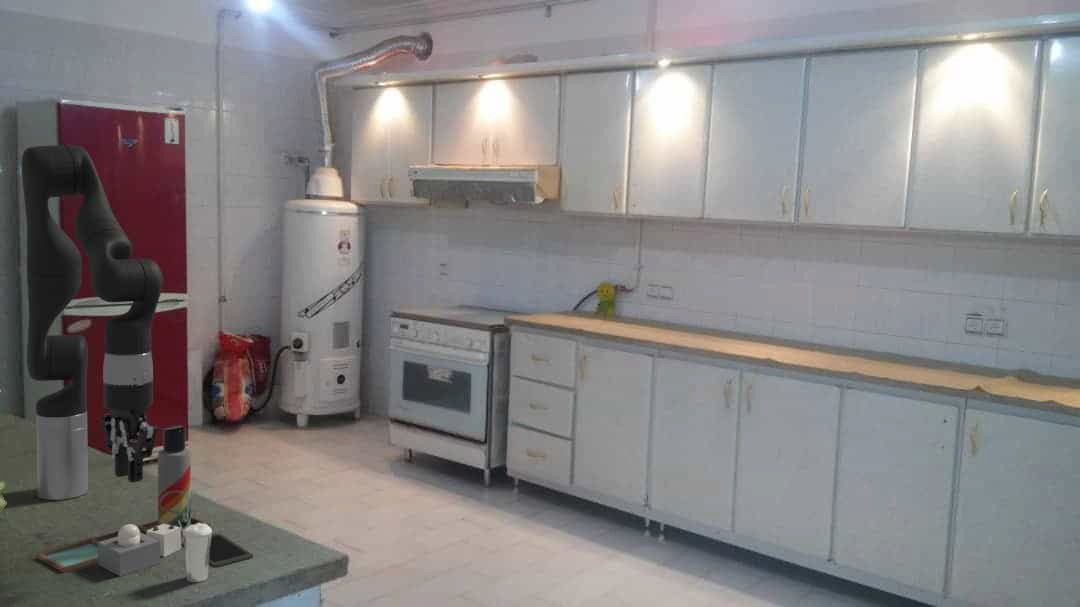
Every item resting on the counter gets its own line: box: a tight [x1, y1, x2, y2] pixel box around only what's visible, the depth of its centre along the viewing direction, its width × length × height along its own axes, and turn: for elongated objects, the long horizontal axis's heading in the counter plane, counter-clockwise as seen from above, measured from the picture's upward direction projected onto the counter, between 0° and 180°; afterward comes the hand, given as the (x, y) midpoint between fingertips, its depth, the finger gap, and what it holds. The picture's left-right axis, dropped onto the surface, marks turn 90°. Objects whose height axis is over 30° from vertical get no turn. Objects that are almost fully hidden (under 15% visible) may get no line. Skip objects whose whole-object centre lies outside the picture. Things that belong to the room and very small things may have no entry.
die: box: [145, 524, 182, 558], centre depth 157 cm, size 4×4×5 cm
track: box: [37, 515, 212, 574], centre depth 160 cm, size 9×28×1 cm, turn 144°
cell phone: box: [181, 533, 254, 568], centre depth 158 cm, size 7×14×1 cm, turn 45°
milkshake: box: [178, 520, 213, 583], centre depth 146 cm, size 4×5×10 cm
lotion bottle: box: [157, 424, 192, 532], centre depth 166 cm, size 6×6×20 cm
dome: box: [118, 523, 141, 548], centre depth 150 cm, size 3×3×5 cm
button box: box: [97, 531, 161, 577], centre depth 150 cm, size 7×7×4 cm
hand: (128, 478), depth 149 cm, fingers open, 3 cm apart
